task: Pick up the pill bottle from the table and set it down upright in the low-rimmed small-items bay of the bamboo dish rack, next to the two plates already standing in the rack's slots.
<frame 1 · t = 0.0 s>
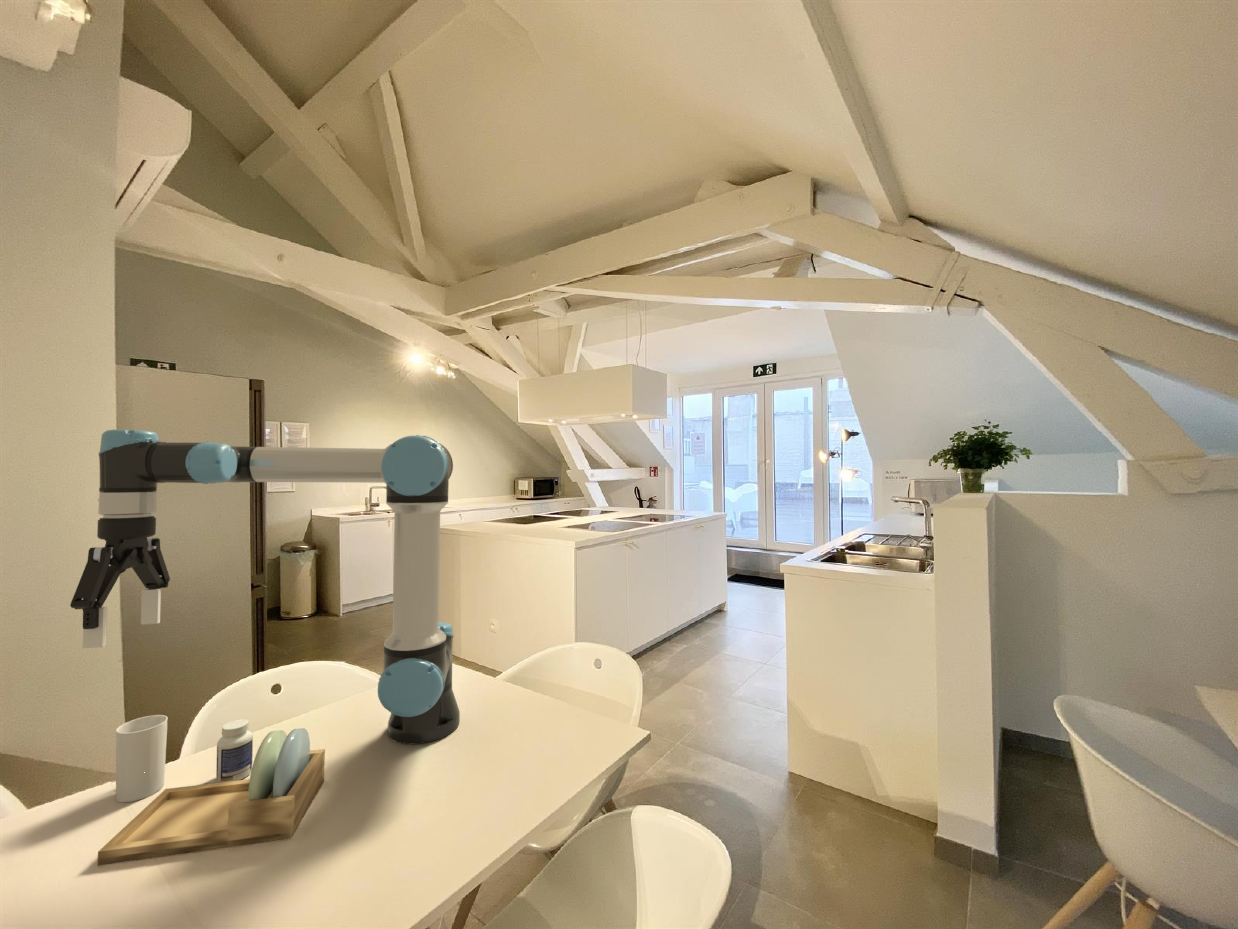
hand: (124, 634, 90), 28 cm above the table, fingers open, 13 cm apart
plate sage: (269, 813, 84), resting on dish rack
pill bottle: (234, 777, 95), on the table
mug: (146, 787, 91), on the table
plate blue: (291, 810, 85), resting on dish rack
dish rack: (224, 818, 83), on the table
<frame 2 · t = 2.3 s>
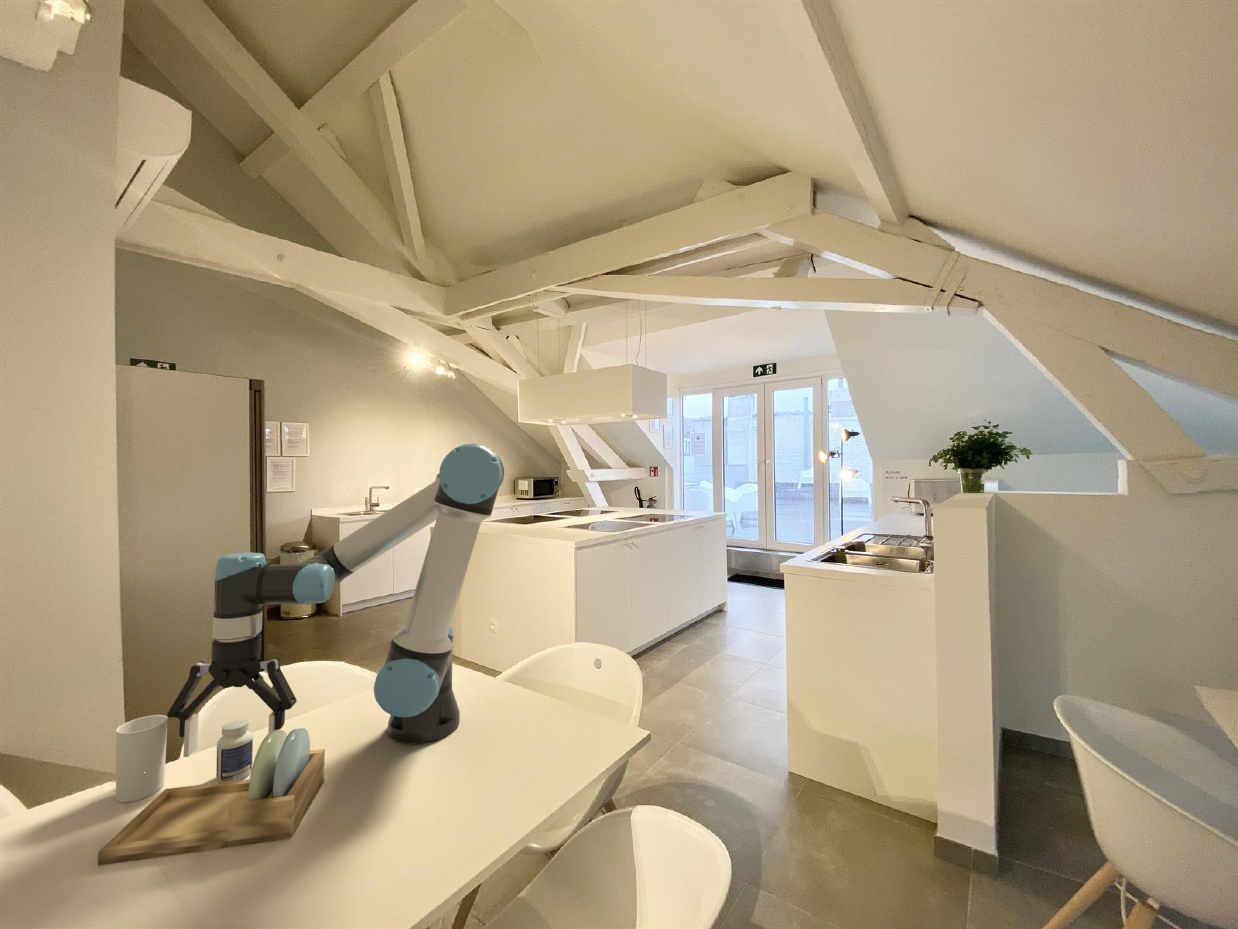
hand: (232, 749, 95), 5 cm above the table, fingers open, 13 cm apart
nothing on the table moved.
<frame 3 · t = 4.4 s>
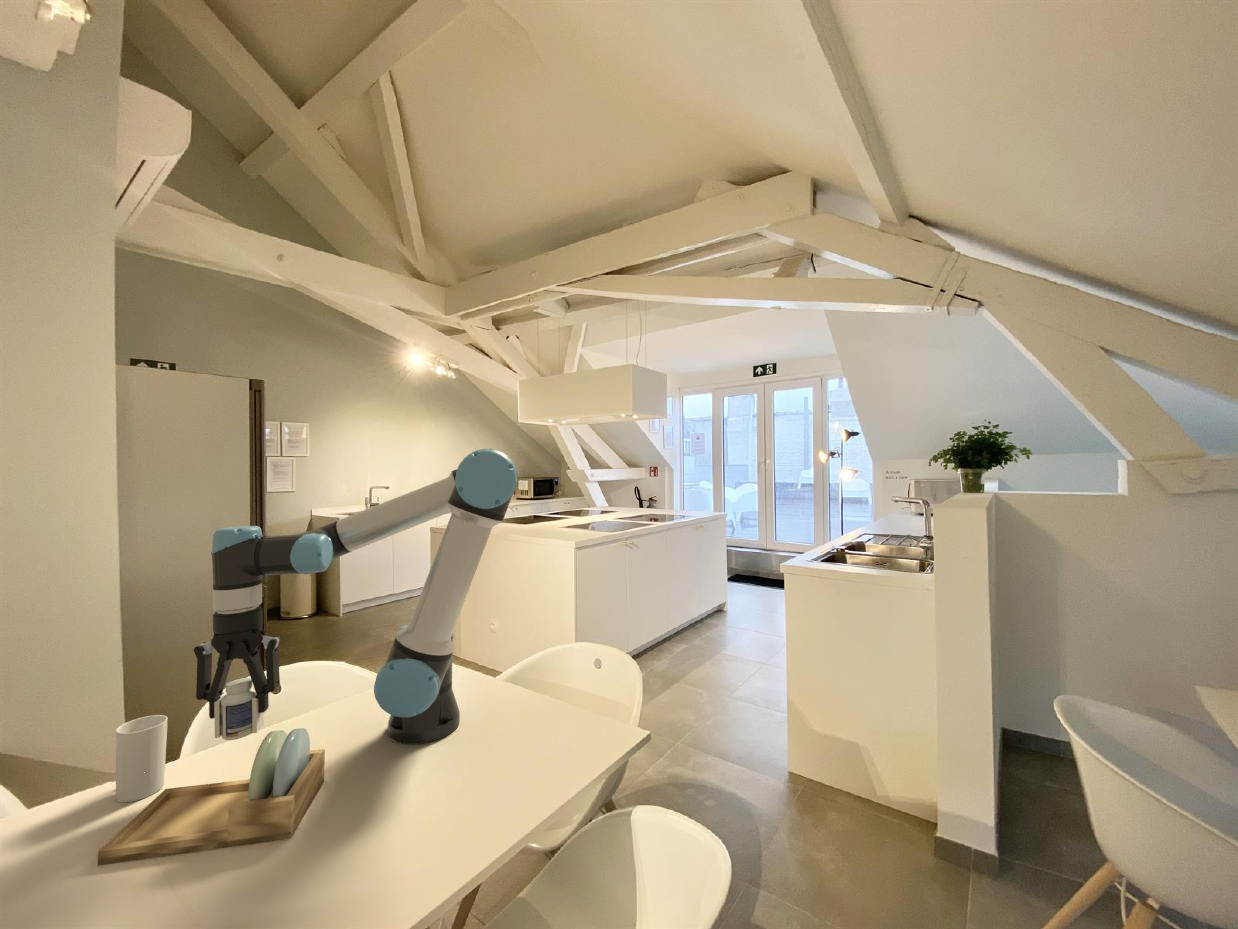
hand: (239, 731, 95), 8 cm above the table, fingers closed on pill bottle, 5 cm apart
pill bottle: (239, 734, 95), point 8 cm above the table, touching gripper
everything else where it was.
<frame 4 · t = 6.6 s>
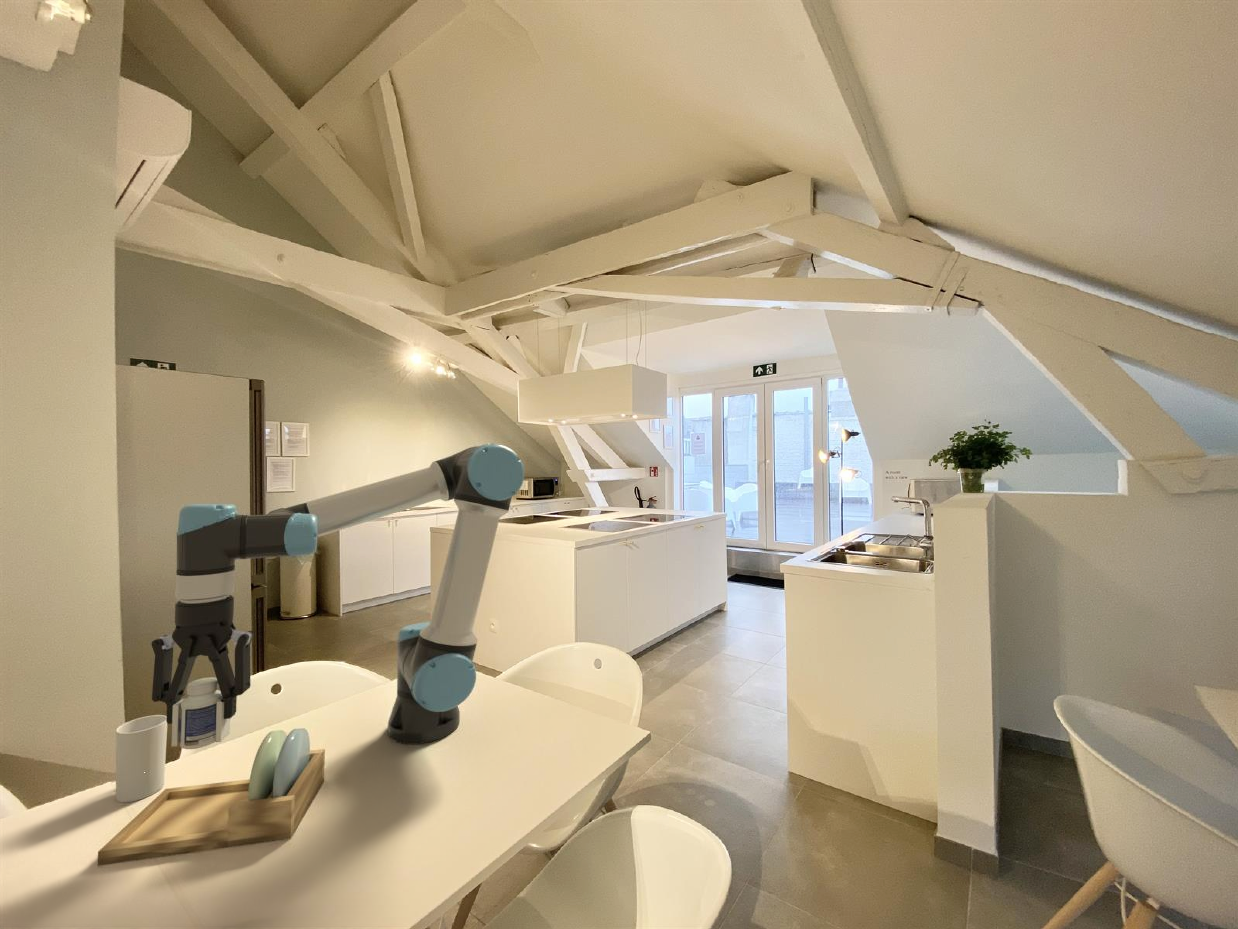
hand: (201, 739, 82), 13 cm above the table, fingers closed on pill bottle, 5 cm apart
pill bottle: (201, 743, 82), point 13 cm above the table, touching gripper
everything else where it was.
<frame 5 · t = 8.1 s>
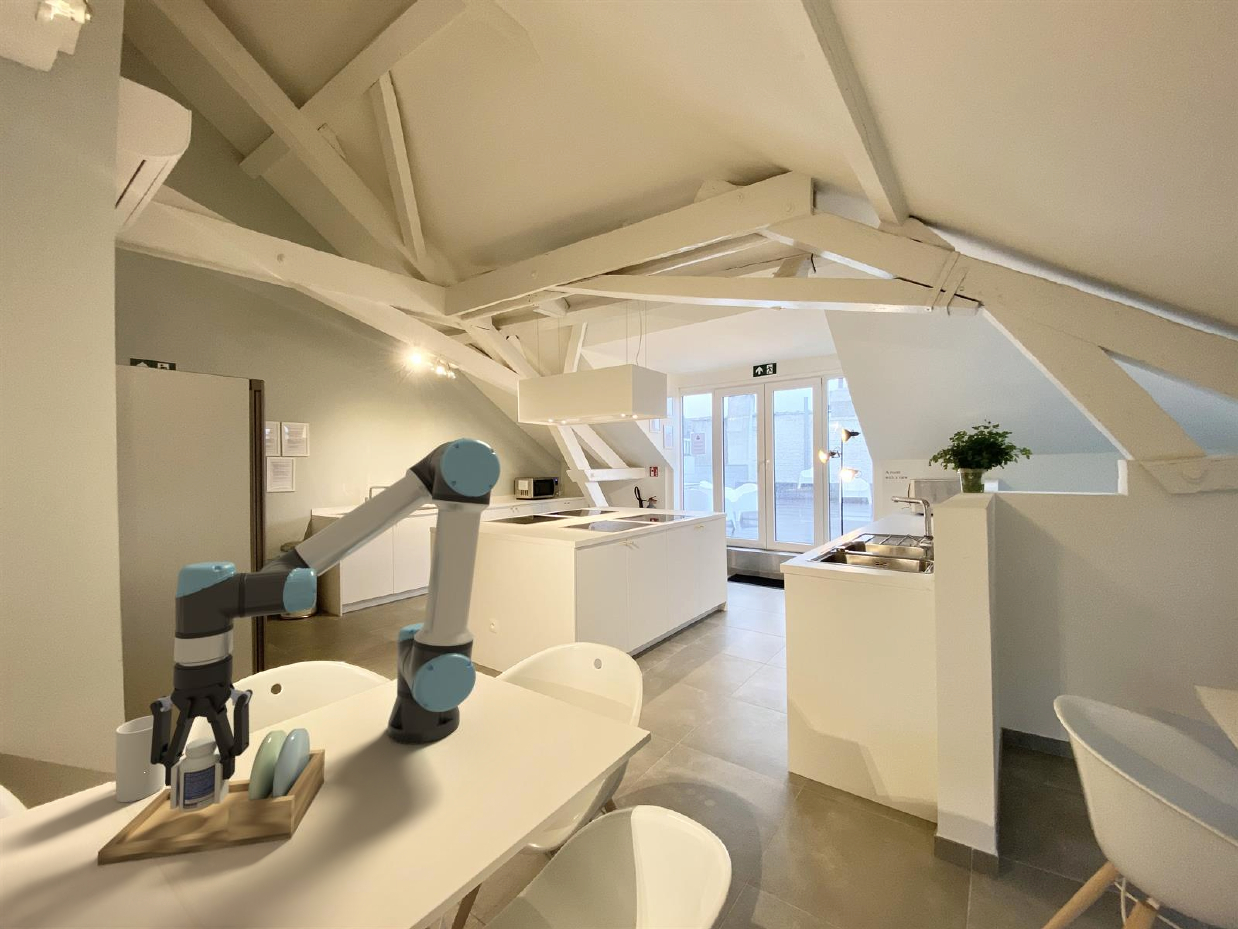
hand: (199, 800, 82), 3 cm above the table, fingers closed on pill bottle, 5 cm apart
pill bottle: (199, 804, 82), point 3 cm above the table, touching gripper
everything else where it was.
when the fingers open (2 cm above the table, at t = 9.1 s): pill bottle stays where it is, resting on dish rack.
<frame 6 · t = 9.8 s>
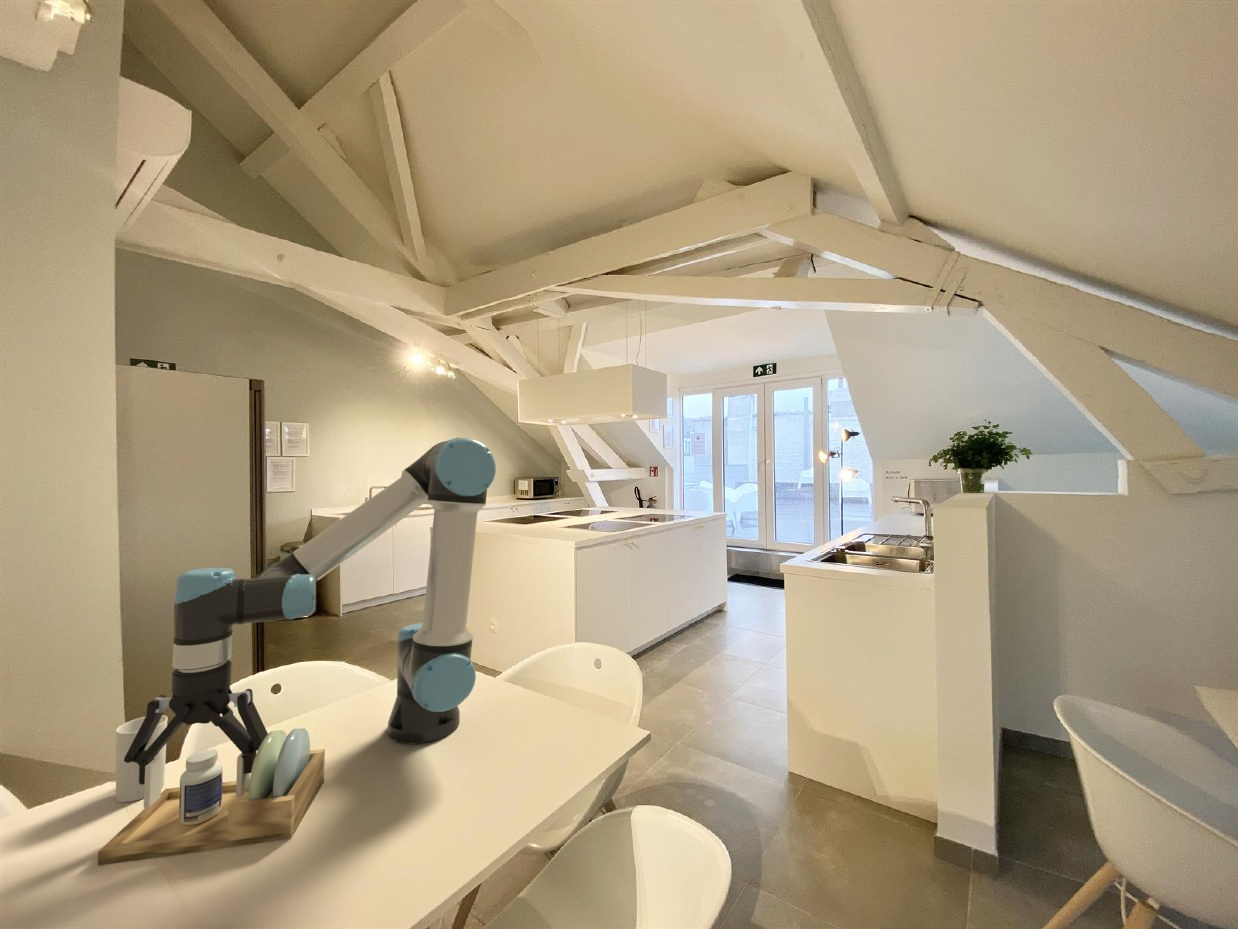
hand: (198, 797, 82), 4 cm above the table, fingers open, 12 cm apart
pill bottle: (200, 816, 82), point 1 cm above the table, touching dish rack
everything else where it was.
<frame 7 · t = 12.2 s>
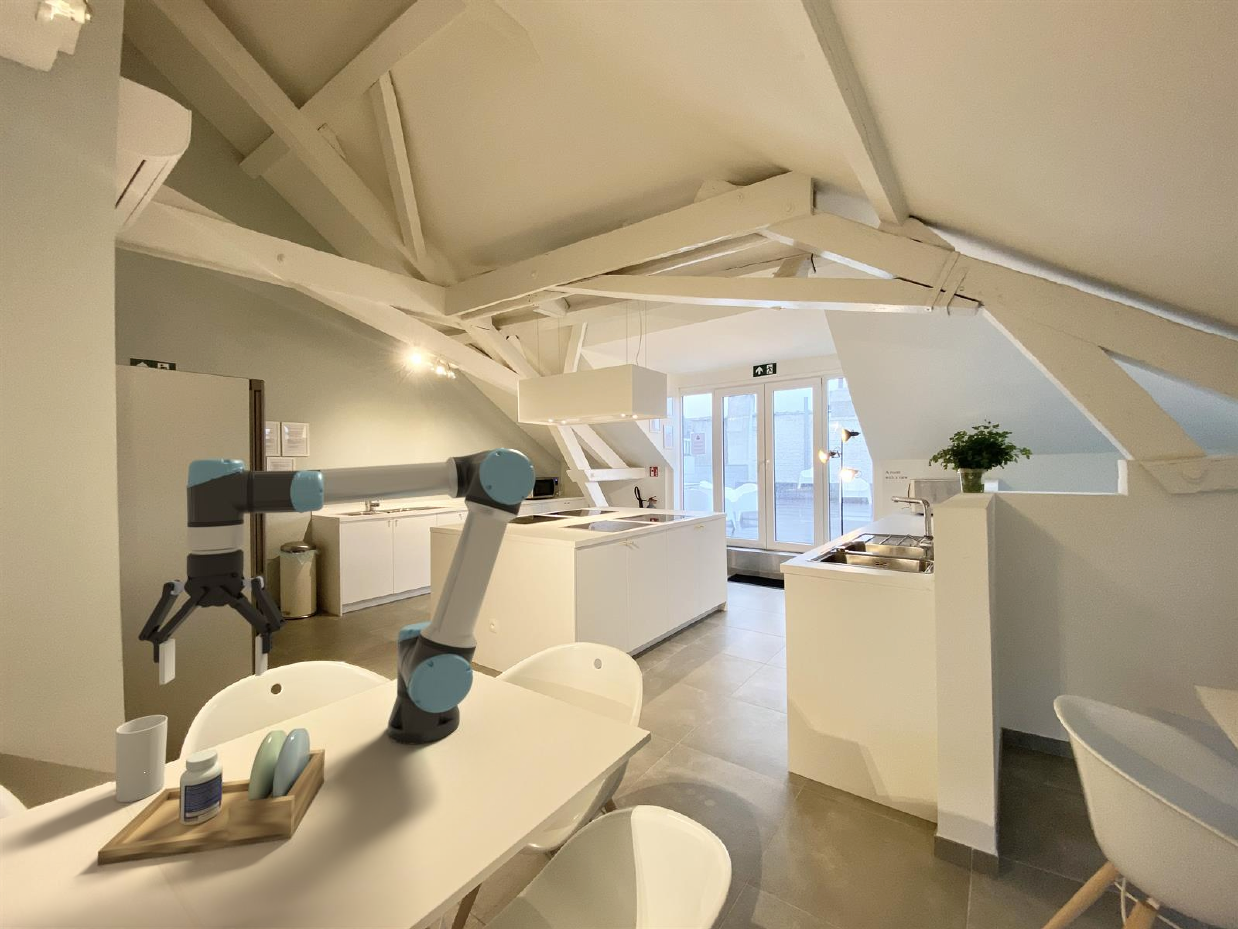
hand: (215, 677, 85), 23 cm above the table, fingers open, 13 cm apart
nothing on the table moved.
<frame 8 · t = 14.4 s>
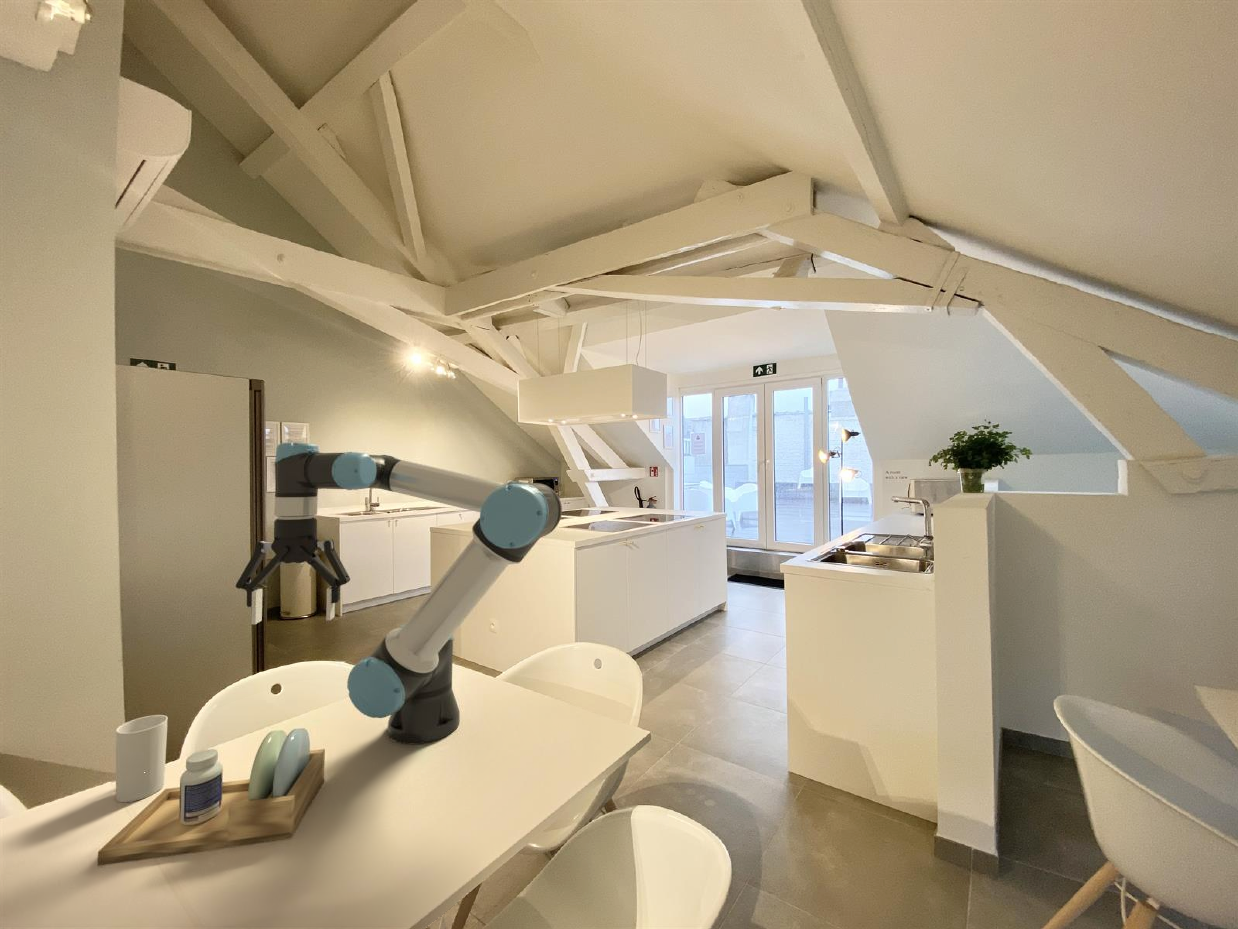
hand: (294, 620, 104), 27 cm above the table, fingers open, 13 cm apart
nothing on the table moved.
at the end: pill bottle inside the target area on the dish rack (0.6 cm from its centre), point 0.8 cm above the dish rack's base; pill bottle tilted 0°; the gripper is holding nothing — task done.
